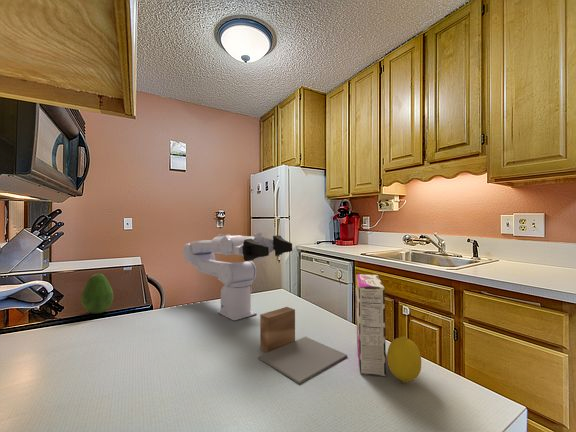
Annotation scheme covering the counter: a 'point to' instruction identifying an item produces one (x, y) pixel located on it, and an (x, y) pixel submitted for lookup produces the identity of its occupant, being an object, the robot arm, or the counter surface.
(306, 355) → the mat
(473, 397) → the counter surface
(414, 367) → the lemon
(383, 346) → the candy bar box
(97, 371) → the counter surface
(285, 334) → the wooden block
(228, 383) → the counter surface
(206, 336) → the counter surface
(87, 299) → the avocado
